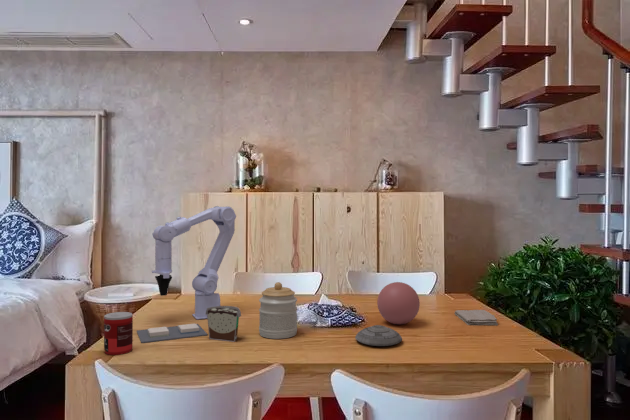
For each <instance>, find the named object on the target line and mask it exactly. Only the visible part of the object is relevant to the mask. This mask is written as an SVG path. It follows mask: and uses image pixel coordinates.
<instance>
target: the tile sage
mask: <svg viewBox="0 0 630 420" xmlns="http://www.w3.org/2000/svg"><path fill="white" fill-rule="evenodd" d="M167 327H168V326H161V327H160V326H159V327H150V328H147V329H148V335H149V337H150V338H153V337H162V336H169V330H168V329H167Z"/></svg>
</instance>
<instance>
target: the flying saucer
mask: <svg viewBox="0 0 630 420" xmlns="http://www.w3.org/2000/svg"><path fill="white" fill-rule="evenodd" d="M354 337H355V339H356V340H355V341H357V342H359V343H360V344H364V345H367V346H374V347H375V346H376V347H389V346H393V345H397V344H399V343H401V342H402V340H403V338H402V335H401V334H400V333H399V332H397V331H396V330H394V329H393V328H390V327H387V326H385V325H381V324H376V325H372V326H368V327H365V328H362V329H360V331H358V332H357V333H356V335H355V336H354Z"/></svg>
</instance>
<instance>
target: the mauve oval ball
mask: <svg viewBox="0 0 630 420" xmlns="http://www.w3.org/2000/svg"><path fill="white" fill-rule="evenodd" d="M420 302H421V301H420V297H419V295H418V293H417V291H416V290H415V288H414V287H412V285H409V284H407V283H405V282H399V281H396V282H395V281H394V282H391V283H388V284H387V285H385V286H384V287H382V289H381V290H380V291H379V294H378V295H377V309H378V312H379V314H380V315H381V317H382V318H383V319H385V321H387V322H388V323H390V324H393V325H406V324H408V323H410V322H412V321H413V320H414V319H415V318H416V317H417V315H418V313H419V311H420V307H421V306H420V305H421V304H420Z"/></svg>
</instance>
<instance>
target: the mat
mask: <svg viewBox="0 0 630 420" xmlns="http://www.w3.org/2000/svg"><path fill="white" fill-rule="evenodd" d="M196 324H197V326H198V327H199V332H197V333H188V334H181V333H180V332H179V330H178V325H174V326H166V327H167V329H168V330H169V336H162V337H153V338H150V337H149V335H148V328H147V329H146V328H145V329H138V330H136V334H137V336H138V339H139V341H140V343H141V344H145V343H147V344H149V343H153V342H154V343H155V342H164V341H172V340H173V341H174V340H179V339H181V340H182V339H189V338H197V337H205V336H209V333H207V332H206V331H205V330H204V329H203V328H202V326H200V324H199V323H196Z"/></svg>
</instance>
